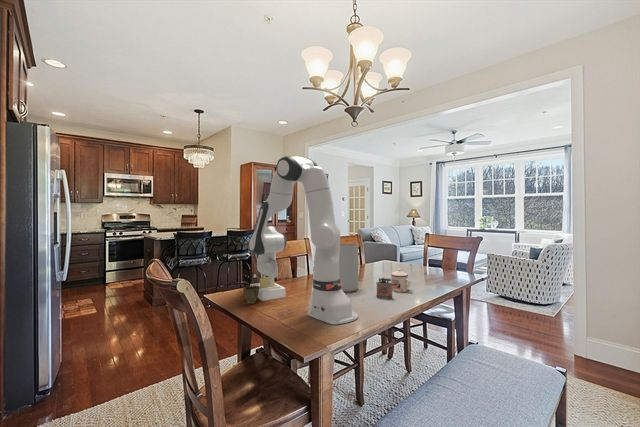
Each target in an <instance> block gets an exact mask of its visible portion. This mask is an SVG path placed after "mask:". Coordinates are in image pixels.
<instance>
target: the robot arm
mask: <svg viewBox="0 0 640 427" xmlns="http://www.w3.org/2000/svg"><path fill="white" fill-rule="evenodd" d="M275 168H276V170H275V171H274V172H273V176H272V179H271V183H270V188H269V194H268V196H267V197H266V198H267V199H266V200H265V201H264V202H262V203H261V205H260V207H259V211H258V213H257V214H258V215H257V218H256V222H255V225H254V228H253V232H252V234H251V236H250V237H249V238H250V239H249V242H248V248H249V251H250V252H251V253H253V255H255V259H256V269H257V272H258V273H260V276H261V278H264V277H269V279H270V281H269V285H273V281H274V282H275V278H278V276H279V267H278V263H277V261H276V259H277V258H276V257H277V256H276V255H277V253H280V252H283V251H284V250H285V249H286V247H287V238H286V236H285V235H284V234H283V233H281V232H278V231H277V230H276V228H275V226H273V225H267V224H268V221H269V219H270V218H271V217H273V215H276V214H278V213H280V212H282V211H285V210H287V209H288V208H289V207H290V205H292V201H293V196H294V188H295V184H296V183H298V182H300V183H302V185H303V190H304V193H305V200H306V204H307V205H306V206H307V209H308V216H309V217H308V218H309V219H308V220H309V230H310V240H311V243H312V244H313V245H314V247H315V250H314V256H313V257H314V258H313V279H312V292H311V294H310V298H309V299H310V300H309V301H310V302H309V310H308V311H307V316H309V317H311V318H314V319H317V320H319V321H321V322H325V323H327V324H329V325H340V324H346V323H350V322H353V321H356V320H357V319H359V315H358V314H357V313H356V312H354V310H353V304H352V301H351V298H348V296H347V295H346V293H345V292H344V291H343V290H342V289H341V288H342V286H343V285H341V284H343V283H341V282H340V279H339V253H340V244H341V229H340V228H339V226H338V225H337V224H336V218H335V209H334V208H335V207H334V202H333V198H332V193H331V187H330V184H329V180H328V177H327V174H326V172H325V170H324V168H323V167H321V166H318V163H316V161H315V160H313V159H312V158H308V157H307V158H306V157H302V156H295V155H294V156H291V155H287V156H283V157H281V158H280V159H279V160H278V161H277V163H276V167H275Z"/></svg>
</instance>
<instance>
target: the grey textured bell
mask: <svg viewBox="0 0 640 427" xmlns="http://www.w3.org/2000/svg"><path fill="white" fill-rule="evenodd" d="M258 295H259V286H256V285H253V287H252V285H251V286H250V285H245V286H244V287H243V296H244V299H245V300H246V301H247V304H248V305H254V304H255V303H256V300H257V299H259V298H258Z"/></svg>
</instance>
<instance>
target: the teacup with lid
mask: <svg viewBox="0 0 640 427" xmlns="http://www.w3.org/2000/svg"><path fill="white" fill-rule="evenodd" d="M390 276H391V278H390V279H391V281H390V283H392V292H395V293H396V292H397V293H404V292H405V293H406V292H408V289H409V288H410V287H411V283H412V282H411V280H410V279H409V278H408V276H409V275H408V273H406V272H404V271H403V270H402V269H401V268H397V270H395V271H393V272H391V274H390Z"/></svg>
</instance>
